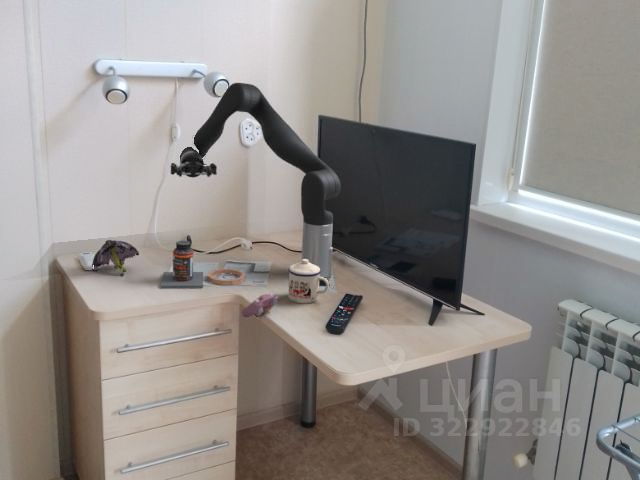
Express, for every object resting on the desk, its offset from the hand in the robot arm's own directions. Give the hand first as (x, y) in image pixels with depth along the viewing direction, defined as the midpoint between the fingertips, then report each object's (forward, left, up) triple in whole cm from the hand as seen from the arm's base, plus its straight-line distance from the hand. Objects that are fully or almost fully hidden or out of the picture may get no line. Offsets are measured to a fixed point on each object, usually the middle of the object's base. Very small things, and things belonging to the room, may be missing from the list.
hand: (194, 173), depth 210 cm
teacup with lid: (-33, +29, -30) cm, 53 cm away
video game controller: (-19, +40, -30) cm, 53 cm away
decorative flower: (+24, +6, -30) cm, 39 cm away
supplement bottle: (+3, +14, -29) cm, 33 cm away
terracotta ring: (-10, +12, -30) cm, 34 cm away
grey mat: (+3, +14, -30) cm, 33 cm away
